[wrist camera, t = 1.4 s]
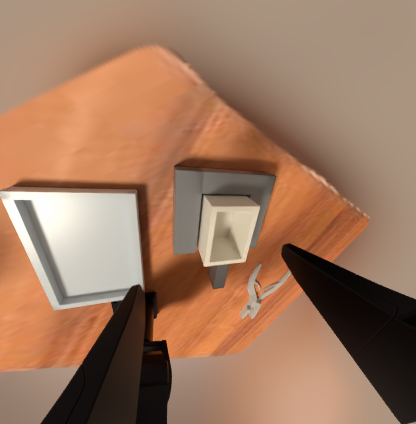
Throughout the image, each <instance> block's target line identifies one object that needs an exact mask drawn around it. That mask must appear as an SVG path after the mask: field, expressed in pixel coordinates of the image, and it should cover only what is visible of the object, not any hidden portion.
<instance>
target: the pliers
mask: <svg viewBox="0 0 416 424" xmlns="http://www.w3.org/2000/svg"><path fill="white" fill-rule="evenodd" d="M261 266H262V264H261V263H259V264H258V265H257V266H256V268H255V269H254V271H253V272H252V274H251V276H250V278H249V281H248V287H247V289H248V293H249V301H248V302H247V303H246V304H245V306H244V307H243V308H242V310H241V311H240V313H239V315H240V317H241V319H243V318H244V317H245V316H246V315H247V314H248V313H249V316H250V318H251V319H253V318H254V317H255V315H256V313H257V312H258V310H259V309H260V306H261V303H260V301H261V300H262V299H263V298H264V297H266V296H267V295H269V294H271V293H273V292H274V291H275V290H277V289H278V288H279V287H280V286H281V285H282V284H283V283H284V282H285V281H286V280H287V279H288V277H289V276H290V274H291V271H290V270H288V272H287V273H286V274H285V275H284V276H283V277H282V278H281V279H280V280H279V281H278V282H276V283H273V284H270V285H268V286H267V287H265V288H264V289H263V290H264V292H263V293H262V294H261V295H260V296H259V297H258V298H257V297H256V292H255V289H254V284H255V285H257V286H258V290H259V291H260V286H259V284H258V283H257V282H256V281H255V279H256V276H257V274H258V272H259V270H260V268H261ZM270 287H271V288H270ZM268 288H269V289H268ZM266 289H268V290H266ZM265 290H266V291H265Z"/></svg>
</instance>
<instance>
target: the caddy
mask: <svg viewBox="0 0 416 424" xmlns="http://www.w3.org/2000/svg"><path fill="white" fill-rule="evenodd" d="M259 210H260V206H259V205H258V204H257V203H255V202H254V201H252V200H251V199H250V198H248V197H247V196H246V195H243V194H202V197H201V207H200V217H199V227H198V237H197V246H198V249H199V253H200V256H201V259H202V262H203V265H204V267H207V266H209V269H208V275H209V278H210V281H211V284H212V287H213V289H218V288H224V285H225V281H226V276H227V271H228V267H229V264H232V263H241V262H245V261H246V257H247V254H248V250H249V246H250V243H251V239H252V235H253V232H254V228H255V224H256V221H257V217H258V214H259Z"/></svg>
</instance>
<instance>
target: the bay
mask: <svg viewBox="0 0 416 424" xmlns="http://www.w3.org/2000/svg"><path fill="white" fill-rule="evenodd" d="M275 179H276V176H275V175H272V174H269V173H267V172H259V171H244V170H229V169H215V168H200V167H185V166H174V194H173V252H174V255H177V254H188V253H196V247H197V237H198V227H199V217H200V207H201V197H202V194H243V195H246V196H247V197H248V198H250V199H251V200H252V201H254V202H255V203H257V204H258V205H259V206H260V210H259V214H258V217H257V221H256V224H255V228H254V232H253V235H252V239H251V243H250V246H249V248H255V247H256V244H257V240H258V237H259V234H260V230H261V227H262V223H263V220H264V217H265V213H266V210H267V206H268V203H269V200H270V196H271V193H272V189H273V186H274V183H275Z"/></svg>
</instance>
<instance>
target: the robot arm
mask: <svg viewBox="0 0 416 424" xmlns="http://www.w3.org/2000/svg"><path fill="white" fill-rule="evenodd" d="M281 255H282V258H283V260H284V261H285V263H286V265H287V266H288V268H289V270H290V271H291V273H292V275H293V276H294V278H295V279H296V281H297V282H298V284H299V285H300V286H301V288H302V289H303V291H304V292H305V293H306V295H307V296H308V297H309V299H310V300H311V301H312V303H313V304H314V306H315V307H316V308H317V310H318V311H319V312H320V314H321V315H322V316H323V318H324V319H325V321H326V322H327V323H328V325H329V326H330V327H331V329H332V330H333V331H334V333H335V334H336V336H337V337H338V338H339V340H340V341H341V343H342V344H343V345H344V347H345V348H346V350H347V351H348V352H349V354H350V355H351V356H352V357H353V359H354V361H355V362H356V363H357V365H358V366H359V368H360V369H361V370H362V372H363V373H364V374H365V376H366V377H367V379H368V380H369V381H370V383H371V384H372V385H373V387H374V388H375V390H376V391H377V392H378V394H379V395H380V396H381V397H382V399H383V401H384V402H385V403H386V405H387V406H388V407H389V409H390V410H391V411H392V413H393V414H394V416H395V417H396V418H397V419H398V421H399V422H400V423H401V424H409V423H413V422H416V299H414V298H411V297H409V296H406V295H404V294H401V293H398V292H396V291H393V290H391V289H389V288H386V287H384V286H382V285H379V284H377V283H375V282H372V281H370V280H368V279H366V278H364V277H361V276H359V275H356V274H355V273H353V272H350V271H348V270H346V269H344V268H342V267H339V266H337V265H335V264H333V263H331V262H329V261H327V260H325V259H323V258H320V257H318V256H316V255H314V254H312V253H310V252H307V251H305V250H303V249H301V248H299V247H297V246H294V245H292V244H290V243H288V244H284V245H283V247H282V252H281ZM111 304H112V308H113V313H114V314H113V316H112V317H111V319H110V320H109V322H108V323H107V325H106V326H105V328H104V330H103V331H102V333H101V334H100V336H99V337H98V339H97V340H96V342H95V344H94V345H93V347H92V348H91V350H90V351H89V353H88V354H87V356H86V358H85V359H84V361H83V362H82V364H81V365H80V367H79V368H78V370H77V371H76V373H75V375H74V376H73V378H72V379H71V381H70V382H69V384H68V385H67V387H66V388H65V390H64V391H63V393H62V394H61V396H60V397H59V399H58V400H57V401H56V403H55V404H54V406H53V407H52V408H51V410H50V411H49V413H48V414H47V415H46V417H45V418H44V419H43V421H42V422H41V424H167V402H168V400H169V397H170V392H171V384H172V371H171V365H170V359H169V354H168V348H167V343H166V340H162V341H153V320H154V319H155V318H156V317H157V305H156V293H155V292H151V293H144V291H143V289H142V287H141V285H140V284H137V285H133V286H131V288H130V289H129V291H128V292H127V294H126V295H125V297H124V298H123V300H119V301H112V302H111Z"/></svg>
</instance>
